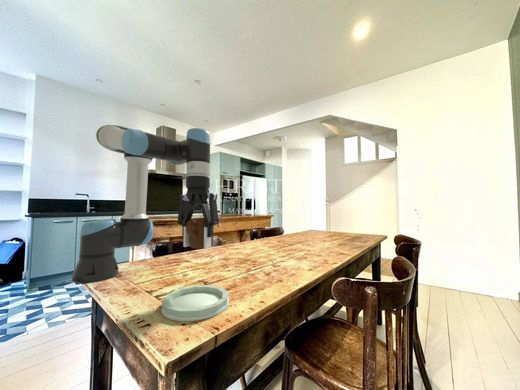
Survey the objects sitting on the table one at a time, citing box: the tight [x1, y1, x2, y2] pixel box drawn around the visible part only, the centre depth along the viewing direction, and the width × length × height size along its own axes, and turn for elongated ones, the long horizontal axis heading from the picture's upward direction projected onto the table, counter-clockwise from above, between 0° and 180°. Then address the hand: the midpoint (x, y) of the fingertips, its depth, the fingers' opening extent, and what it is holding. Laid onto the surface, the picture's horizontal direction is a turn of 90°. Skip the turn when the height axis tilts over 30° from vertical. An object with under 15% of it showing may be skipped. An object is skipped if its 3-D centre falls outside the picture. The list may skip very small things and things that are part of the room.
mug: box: [186, 217, 215, 249], centre depth 68 cm, size 12×8×9 cm, turn 165°
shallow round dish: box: [161, 284, 230, 323], centre depth 63 cm, size 19×19×2 cm
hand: (197, 246), depth 68 cm, fingers closed on mug, 7 cm apart
